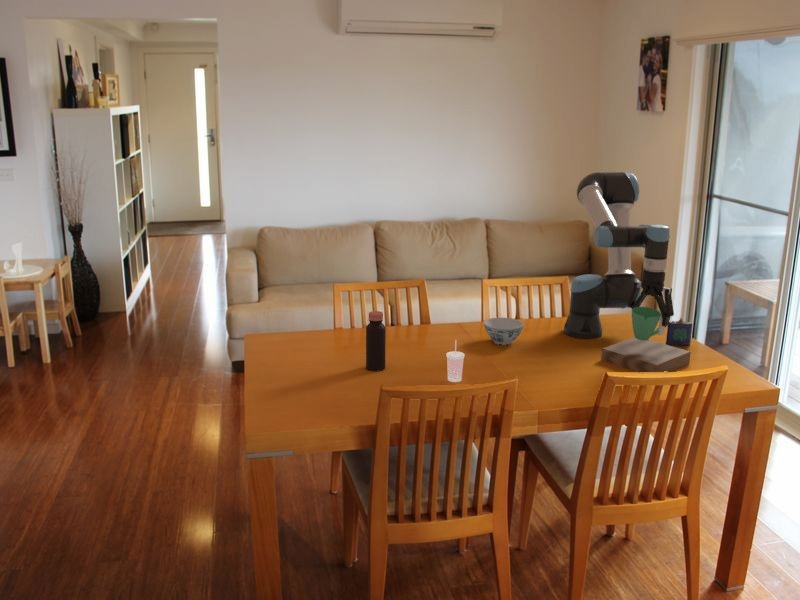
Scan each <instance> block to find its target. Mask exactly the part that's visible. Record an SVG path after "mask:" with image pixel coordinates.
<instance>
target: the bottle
mask: <svg viewBox="0 0 800 600" xmlns="http://www.w3.org/2000/svg"><path fill="white" fill-rule="evenodd" d="M368 321H369V323H368V324H367V325H366V326H365V368H366V369H367V370H368V369H369V370H368V371H370V370H374V371H373V372H378V371H377V370H381V371H384V370H385V369H386V343H387V342H386V339H387V338H386V337H387V335H386V334H387V333H386V330H387V329H386V326H385V324H384V323H383V321H384V312H383V311H378V310H373V311H372V310H371V311H369V312H368ZM383 369H384V370H383Z"/></svg>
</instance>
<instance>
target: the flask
mask: <svg viewBox="0 0 800 600" xmlns="http://www.w3.org/2000/svg"><path fill="white" fill-rule="evenodd" d="M666 328H667V329H666V331H667V332H666V337H665V338H666V340H665V341H666V342H665V345H666V344H667V345H669V346H670V345H672V346H673V347H679V346H680V347H688V346H691V343H692V342H691V341H692V332H693V322H691V321H684V318H683V317H680V318H679V320H675V321H674V320H672V321H669V324H668V325H667V327H666Z"/></svg>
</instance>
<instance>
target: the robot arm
mask: <svg viewBox="0 0 800 600" xmlns="http://www.w3.org/2000/svg"><path fill="white" fill-rule="evenodd" d="M639 194H640V185H639V182H638V178H637V177H636V175H635V174H633V173H631V172H623V171H622V172H619V171H618V172H598V171H597V172H592V173H589V174H587V175H586V176H584V177H583V178H582V179H581V180H580V181H579V183H578V185H577V188H576V196H577V197H576V198H577V200H578V202H579V204H580V205H582V207H584V208H585V210H586V212H587V214H588V216H589V218H590V219H591V222H592V224H593V227H594V228H595V229H594V232H593V240H594V244H595V246H596V247H598V248H605V249H608V250H607V251H608V254H607V256H608V257H607V258H608V259H607V260H608V270H607V272H606V273H605V274H604V278H603V277H602V276H601V275H600V274H592V273H591V274H589V273H588V274H587V273H586V274H581V275H578V276H576V277H574V278H572V280H571V287H570V299H569V300H570V301H569V313H568V316H567V317H566V320H565V323H564V325H563V333H564V334H565V335H567V336H570V337H573V338H577V339H596V338H600V337H601V336H602V335H603V327H602V322H601V317H600V309H631V310H632V309H633V308H635V307H641V305H642V303H643V302H644V301H645V299H646V298H647V296H650V297H654V299H655V300H656V303H657V306H658V308H659V312H661V315H662V317H660V319H659V321H658V327H659V330H658V334H657V335H658V336H663V335H665V330H666V327H668V325H667V322H668V317H670V318H671V317H673V316H674V315H675V312H674V306H673V305H674V304H673V298H672V292H673V288H672V287H667V286H666V287H665V279H666V269H667V261H668V251H669V250H668V249H669V242H670V237H671V236H670V227H669V226H667V225H664V224H649V225H648V224H639V225H638V226H637V225H635V226H631V209H632V208H633V207H634V205H635V203H636V202H637V201H638V200H639V196H640V195H639ZM631 248H643V249H644V254H643V255H644V256H643V266H642V267H643V269H642V276H641V279H642V281H641V280H639V279H638V278H636V273H635V272H634V271H633V270H632V256H631V255H632V254H631V251H632V250H631ZM663 294H664V295H663ZM665 326H666V327H665Z"/></svg>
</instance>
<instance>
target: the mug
mask: <svg viewBox="0 0 800 600" xmlns="http://www.w3.org/2000/svg"><path fill="white" fill-rule="evenodd" d="M660 317H662V315H661V312H660V310H657V309H655V308H651V307H647V306H639V307H635V308H633V309H632V308H631V323H632V331H633V336H634V337H635V338H636V339H638V340H643V341H646V340H650V338H651V337H654V336H656V335H658V330H659V326H658V327H657V325H658V324H659V320H660ZM670 320H671V317H668V322H667V326H668V324H669V322H671V321H670ZM667 326H665V328H667Z"/></svg>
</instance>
